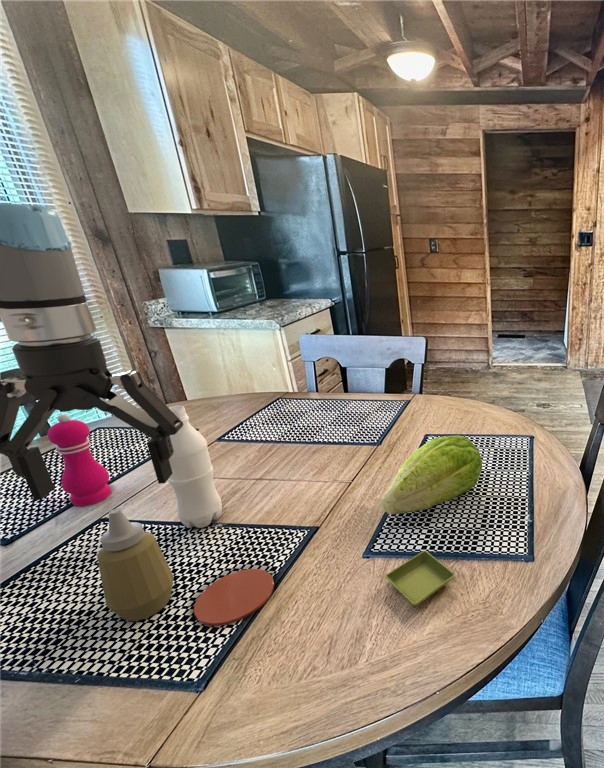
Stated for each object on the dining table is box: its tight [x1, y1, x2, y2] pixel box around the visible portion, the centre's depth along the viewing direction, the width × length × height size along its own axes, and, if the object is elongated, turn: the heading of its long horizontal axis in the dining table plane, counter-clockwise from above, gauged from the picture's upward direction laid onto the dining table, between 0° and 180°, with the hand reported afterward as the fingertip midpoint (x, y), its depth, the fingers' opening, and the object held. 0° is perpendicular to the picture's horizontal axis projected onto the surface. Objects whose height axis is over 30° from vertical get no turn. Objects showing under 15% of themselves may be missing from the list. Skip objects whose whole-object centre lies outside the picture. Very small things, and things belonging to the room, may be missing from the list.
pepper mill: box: [46, 413, 112, 507], centre depth 88 cm, size 7×7×20 cm
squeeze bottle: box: [96, 508, 175, 622], centre depth 63 cm, size 8×8×18 cm
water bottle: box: [167, 405, 223, 529], centre depth 81 cm, size 7×7×25 cm
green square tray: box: [384, 550, 456, 607], centre depth 71 cm, size 9×9×2 cm
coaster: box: [193, 568, 275, 627], centre depth 68 cm, size 11×11×1 cm
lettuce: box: [380, 434, 483, 516], centre depth 93 cm, size 14×24×15 cm
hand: (107, 486), depth 58 cm, fingers open, 13 cm apart
